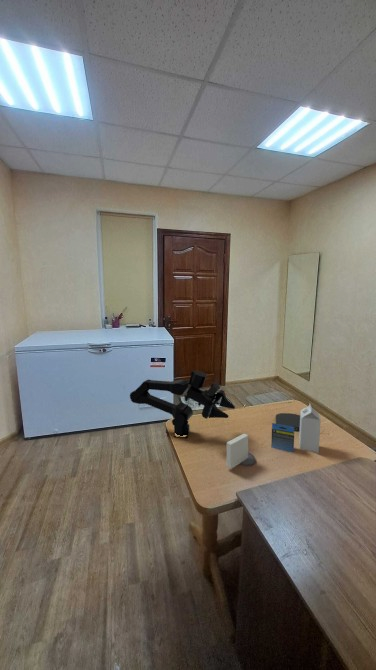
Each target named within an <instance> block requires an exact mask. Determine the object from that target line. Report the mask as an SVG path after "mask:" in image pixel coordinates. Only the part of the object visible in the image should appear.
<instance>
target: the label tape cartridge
mask: <svg viewBox="0 0 376 670" xmlns="http://www.w3.org/2000/svg"><path fill="white" fill-rule="evenodd" d="M271 425H272V426H271V445H270V446H271V447H270V448H272V449H276V450H279V451H280V450H281V451H284V452H289V453H294V451H295V431H294V427H292V426H286V425H281V424H276V422H272V423H271ZM279 427H284V428H286V429H281V428H279Z"/></svg>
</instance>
